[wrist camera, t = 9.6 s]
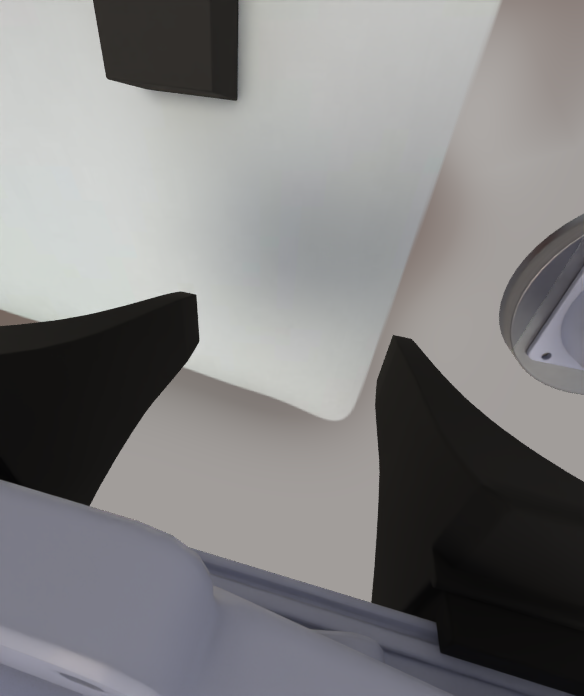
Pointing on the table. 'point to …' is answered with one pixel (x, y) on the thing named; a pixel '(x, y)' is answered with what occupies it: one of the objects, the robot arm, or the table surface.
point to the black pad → (171, 45)
